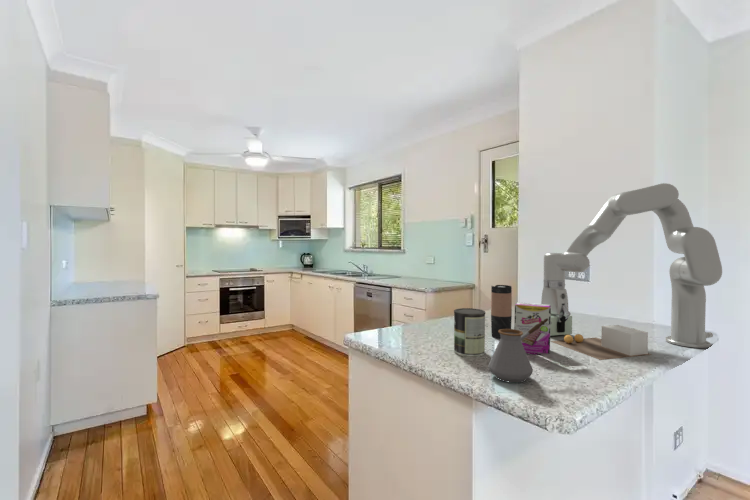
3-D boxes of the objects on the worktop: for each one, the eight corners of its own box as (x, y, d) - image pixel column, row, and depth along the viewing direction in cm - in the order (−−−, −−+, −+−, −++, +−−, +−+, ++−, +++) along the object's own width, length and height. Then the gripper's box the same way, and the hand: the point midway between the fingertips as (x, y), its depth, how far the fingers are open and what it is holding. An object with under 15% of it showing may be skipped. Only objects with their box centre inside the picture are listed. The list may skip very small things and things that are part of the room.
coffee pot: (511, 389, 95) (511, 330, 95) (479, 374, 105) (479, 321, 105) (566, 375, 105) (566, 321, 104) (532, 363, 115) (532, 314, 115)
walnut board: (595, 340, 141) (595, 337, 141) (652, 357, 120) (652, 354, 120) (549, 343, 136) (549, 341, 136) (600, 363, 115) (600, 359, 115)
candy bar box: (513, 352, 126) (514, 304, 125) (514, 348, 130) (515, 302, 130) (550, 357, 121) (550, 306, 120) (550, 352, 125) (550, 304, 125)
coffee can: (449, 354, 125) (449, 311, 124) (459, 346, 133) (459, 307, 133) (480, 358, 119) (480, 315, 119) (488, 350, 128) (488, 309, 128)
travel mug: (512, 339, 142) (513, 287, 141) (491, 338, 143) (492, 286, 143) (509, 334, 149) (510, 285, 149) (489, 334, 151) (490, 284, 150)
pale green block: (558, 329, 151) (558, 312, 151) (571, 334, 145) (572, 316, 144) (535, 331, 149) (535, 314, 148) (547, 335, 142) (547, 317, 142)
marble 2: (579, 341, 136) (579, 332, 136) (585, 343, 133) (585, 334, 133) (572, 341, 136) (572, 333, 136) (578, 343, 133) (578, 335, 133)
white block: (601, 346, 130) (601, 326, 129) (617, 344, 131) (617, 324, 131) (630, 355, 119) (630, 333, 119) (647, 353, 121) (647, 332, 121)
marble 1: (568, 341, 135) (569, 333, 135) (575, 344, 132) (575, 335, 132) (561, 342, 134) (562, 334, 134) (568, 344, 132) (568, 336, 131)
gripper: (579, 286, 139) (578, 334, 139) (546, 281, 155) (546, 324, 156) (562, 287, 137) (561, 335, 137) (531, 282, 154) (530, 325, 154)
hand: (553, 329), depth 146 cm, fingers closed on pale green block, 7 cm apart
